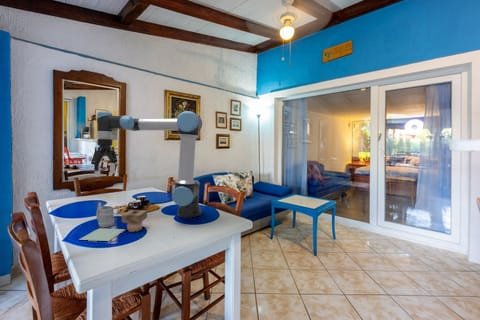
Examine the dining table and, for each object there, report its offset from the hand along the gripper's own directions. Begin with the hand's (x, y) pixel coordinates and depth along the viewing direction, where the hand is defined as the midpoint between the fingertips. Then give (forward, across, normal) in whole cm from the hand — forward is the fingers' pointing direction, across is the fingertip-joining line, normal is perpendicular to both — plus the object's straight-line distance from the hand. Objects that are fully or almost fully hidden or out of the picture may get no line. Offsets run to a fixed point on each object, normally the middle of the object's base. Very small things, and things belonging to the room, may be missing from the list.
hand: (105, 175), depth 130 cm
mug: (+27, +8, +4) cm, 28 cm away
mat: (+27, +22, +14) cm, 37 cm away
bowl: (+27, +13, +24) cm, 38 cm away
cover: (+22, +13, +24) cm, 35 cm away
